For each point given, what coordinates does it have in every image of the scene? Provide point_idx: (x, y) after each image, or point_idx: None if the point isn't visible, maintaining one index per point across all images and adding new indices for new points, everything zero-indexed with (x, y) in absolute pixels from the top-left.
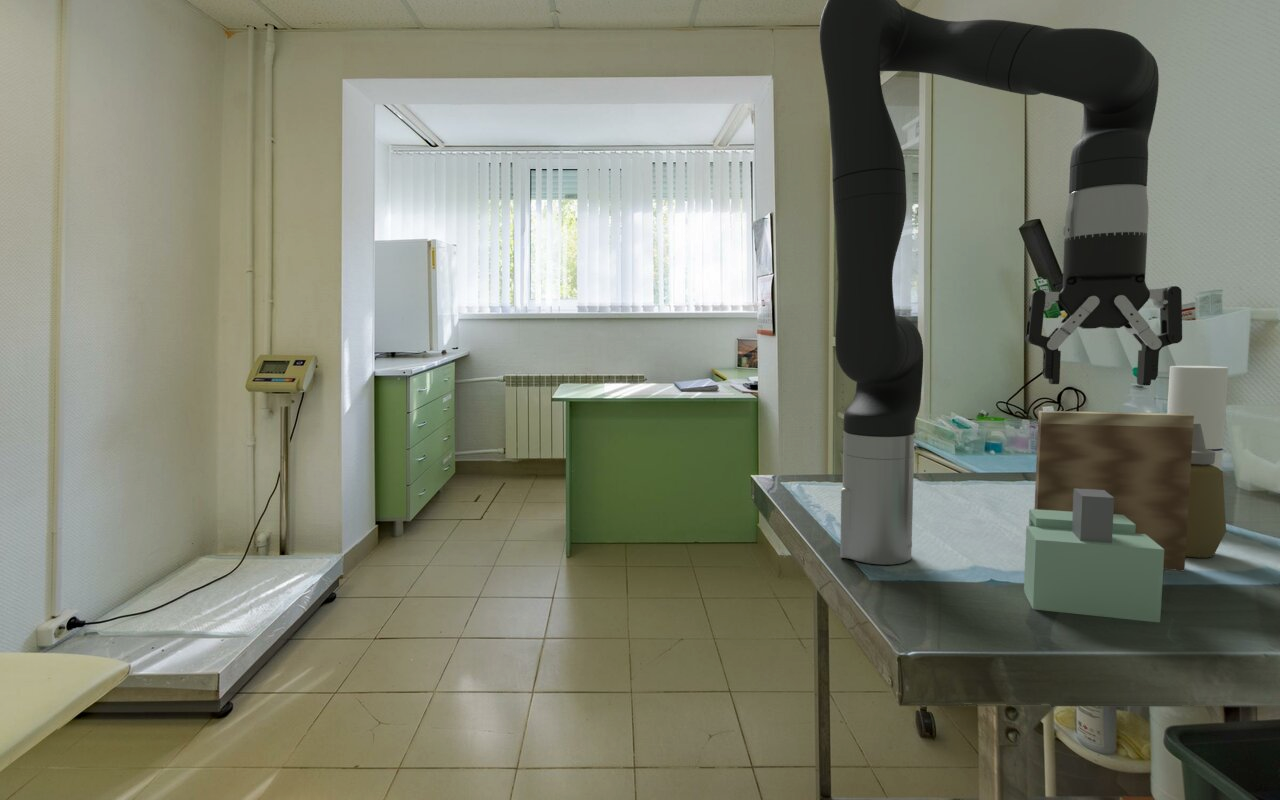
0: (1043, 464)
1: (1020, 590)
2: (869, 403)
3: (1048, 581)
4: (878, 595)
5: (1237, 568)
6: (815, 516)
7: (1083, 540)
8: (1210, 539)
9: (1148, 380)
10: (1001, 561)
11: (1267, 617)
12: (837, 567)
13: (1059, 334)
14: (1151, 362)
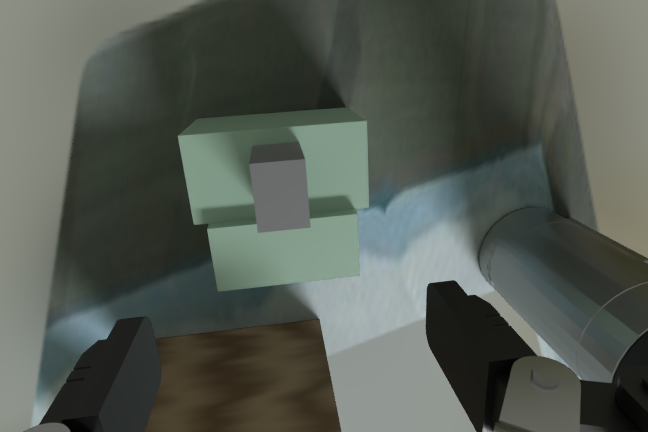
0: (332, 425)
1: None
2: None
3: (335, 113)
4: (535, 83)
5: None
6: None
7: (294, 142)
8: None
9: (124, 321)
10: (363, 290)
11: (66, 192)
12: (578, 179)
13: (552, 426)
14: (88, 375)
